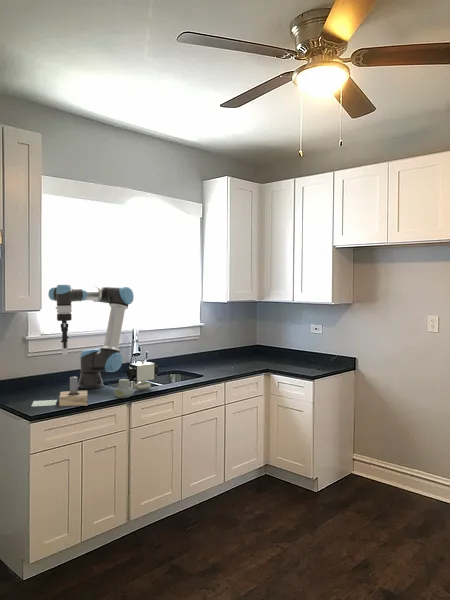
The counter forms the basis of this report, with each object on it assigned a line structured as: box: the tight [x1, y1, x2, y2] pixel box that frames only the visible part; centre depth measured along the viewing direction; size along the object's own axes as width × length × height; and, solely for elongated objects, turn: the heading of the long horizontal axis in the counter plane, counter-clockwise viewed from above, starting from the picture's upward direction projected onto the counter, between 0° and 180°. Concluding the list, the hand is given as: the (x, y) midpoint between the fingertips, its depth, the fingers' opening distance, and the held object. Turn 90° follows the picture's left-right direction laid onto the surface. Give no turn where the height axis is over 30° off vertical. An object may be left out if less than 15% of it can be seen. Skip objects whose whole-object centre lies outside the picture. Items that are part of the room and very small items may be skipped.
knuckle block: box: [58, 390, 88, 407], centre depth 268 cm, size 14×14×5 cm
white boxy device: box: [126, 360, 159, 392], centre depth 301 cm, size 18×8×18 cm, turn 129°
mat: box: [30, 399, 58, 407], centre depth 266 cm, size 12×12×1 cm
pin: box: [69, 376, 79, 395], centre depth 268 cm, size 4×4×14 cm
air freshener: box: [113, 378, 135, 399], centre depth 283 cm, size 11×8×10 cm
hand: (65, 352), depth 272 cm, fingers open, 13 cm apart
